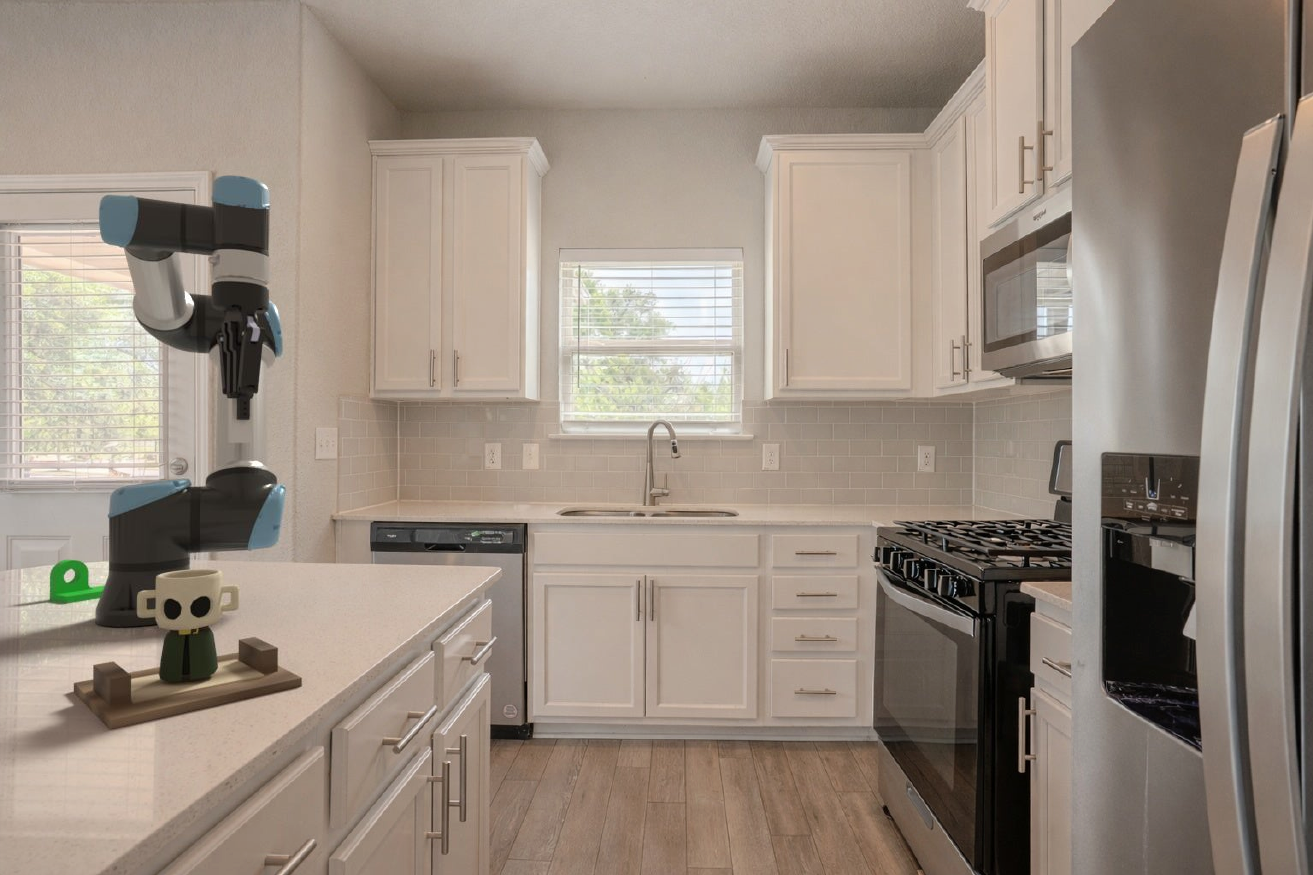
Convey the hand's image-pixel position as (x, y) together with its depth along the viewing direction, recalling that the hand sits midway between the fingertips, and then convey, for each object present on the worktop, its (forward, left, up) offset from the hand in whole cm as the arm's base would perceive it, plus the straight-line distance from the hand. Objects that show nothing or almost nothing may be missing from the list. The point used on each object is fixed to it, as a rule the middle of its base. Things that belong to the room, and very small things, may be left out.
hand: (239, 442), depth 114 cm
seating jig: (+16, -11, -30) cm, 36 cm away
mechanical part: (-57, -7, -31) cm, 65 cm away
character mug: (+16, -11, -29) cm, 35 cm away
